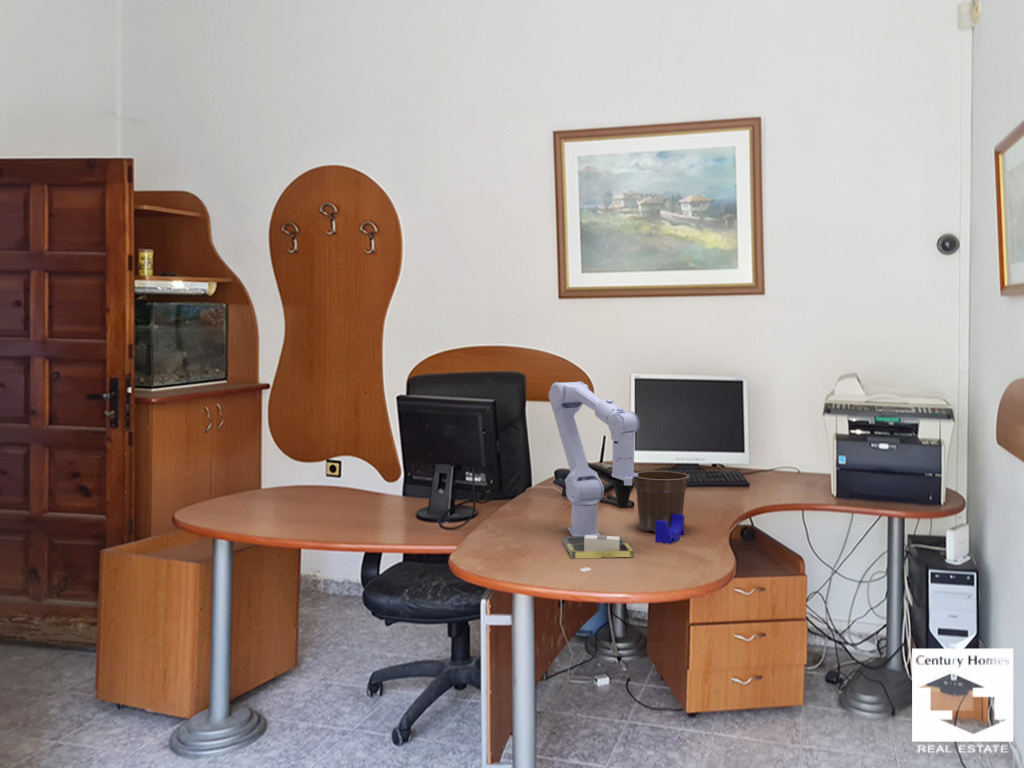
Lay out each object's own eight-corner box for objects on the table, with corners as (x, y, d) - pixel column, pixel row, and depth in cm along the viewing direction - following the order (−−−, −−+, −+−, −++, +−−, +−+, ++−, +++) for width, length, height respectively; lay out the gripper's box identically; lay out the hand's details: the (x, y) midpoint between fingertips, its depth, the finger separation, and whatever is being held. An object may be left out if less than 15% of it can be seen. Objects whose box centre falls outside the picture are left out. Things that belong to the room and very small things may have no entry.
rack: (562, 542, 242) (562, 535, 242) (620, 541, 243) (620, 535, 243) (571, 558, 225) (571, 551, 225) (633, 557, 226) (633, 550, 226)
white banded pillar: (585, 551, 232) (585, 534, 232) (619, 553, 231) (619, 535, 231) (584, 555, 229) (584, 537, 229) (618, 556, 227) (619, 539, 227)
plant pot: (622, 525, 264) (623, 471, 263) (670, 521, 269) (671, 469, 268) (647, 537, 248) (648, 480, 247) (698, 533, 253) (699, 477, 252)
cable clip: (670, 545, 240) (670, 523, 240) (655, 542, 243) (655, 521, 243) (688, 536, 250) (689, 515, 250) (674, 534, 253) (674, 513, 252)
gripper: (644, 461, 230) (643, 513, 231) (632, 453, 244) (631, 502, 245) (617, 461, 229) (616, 513, 230) (607, 453, 244) (606, 502, 245)
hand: (622, 507), depth 238 cm, fingers closed
